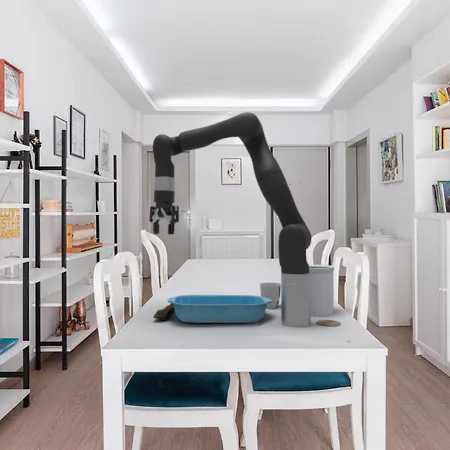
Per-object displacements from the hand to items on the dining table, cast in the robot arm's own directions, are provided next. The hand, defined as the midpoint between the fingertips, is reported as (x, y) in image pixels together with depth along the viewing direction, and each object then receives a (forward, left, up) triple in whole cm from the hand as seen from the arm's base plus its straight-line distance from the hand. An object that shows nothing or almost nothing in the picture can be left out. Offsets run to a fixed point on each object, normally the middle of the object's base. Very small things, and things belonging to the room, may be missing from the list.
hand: (163, 234), depth 155 cm
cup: (-34, -23, -30) cm, 51 cm away
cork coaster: (-58, -5, -30) cm, 66 cm away
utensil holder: (-51, -21, -30) cm, 63 cm away
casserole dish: (-21, -2, -30) cm, 37 cm away
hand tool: (+4, -4, -28) cm, 28 cm away
